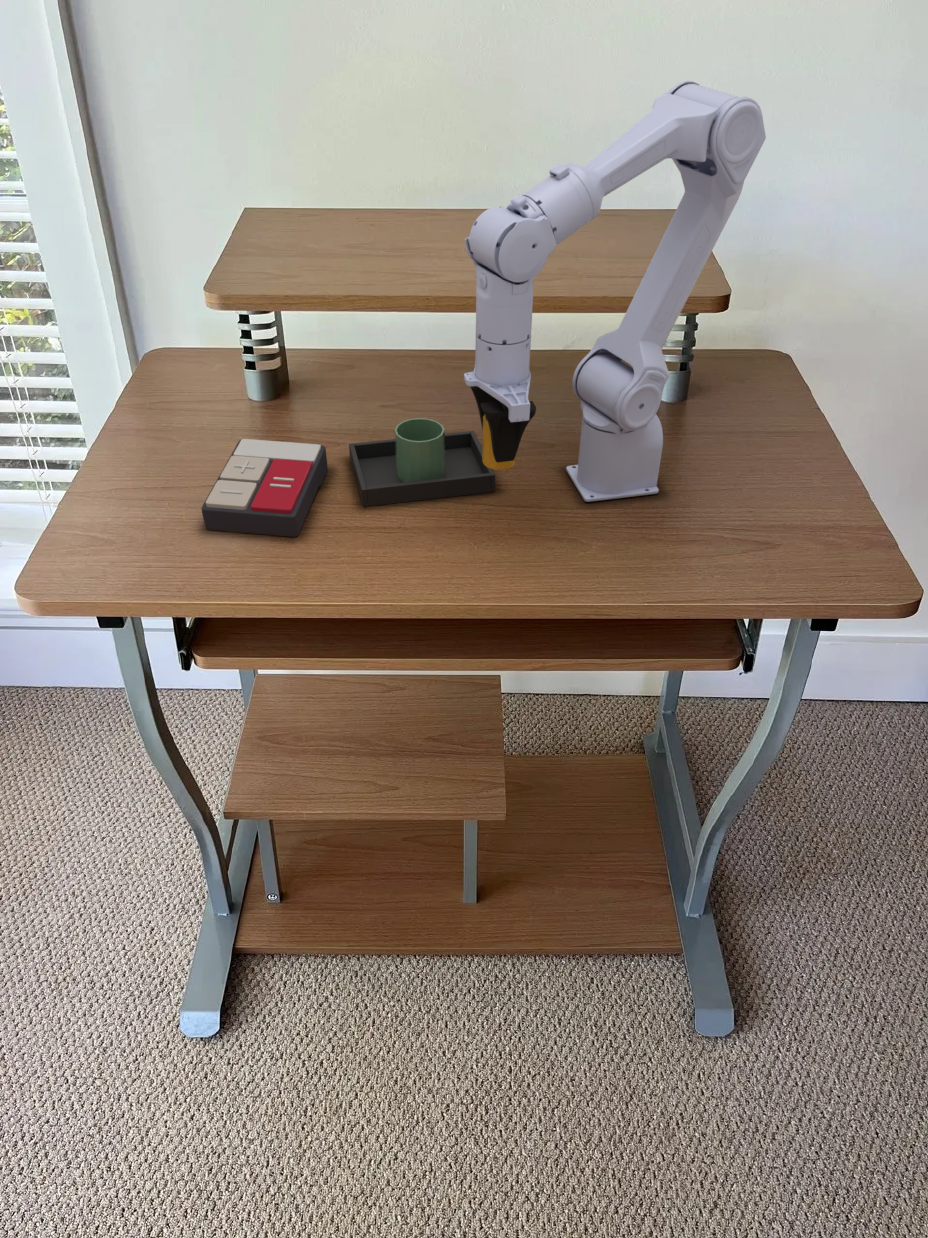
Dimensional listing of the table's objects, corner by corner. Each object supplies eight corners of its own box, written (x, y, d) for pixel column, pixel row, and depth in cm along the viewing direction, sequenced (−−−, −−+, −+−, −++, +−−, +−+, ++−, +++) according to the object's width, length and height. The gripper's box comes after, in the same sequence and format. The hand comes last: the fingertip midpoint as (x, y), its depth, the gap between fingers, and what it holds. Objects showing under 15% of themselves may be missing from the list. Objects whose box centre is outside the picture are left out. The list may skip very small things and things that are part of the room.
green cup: (438, 458, 125) (438, 415, 122) (448, 482, 121) (448, 438, 117) (393, 463, 124) (391, 420, 120) (401, 487, 120) (399, 444, 116)
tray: (473, 446, 129) (474, 430, 127) (494, 491, 120) (495, 474, 119) (350, 460, 126) (348, 443, 124) (362, 507, 117) (361, 489, 116)
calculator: (198, 503, 111) (238, 432, 122) (205, 534, 114) (243, 462, 125) (293, 511, 110) (325, 439, 121) (298, 542, 113) (328, 469, 124)
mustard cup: (510, 451, 113) (512, 407, 109) (519, 468, 110) (521, 423, 106) (478, 454, 112) (479, 410, 108) (487, 471, 109) (488, 427, 106)
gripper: (449, 309, 106) (449, 423, 115) (483, 367, 95) (480, 487, 104) (513, 304, 107) (508, 416, 116) (553, 360, 96) (544, 480, 105)
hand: (499, 450), depth 110 cm, fingers closed on mustard cup, 4 cm apart
